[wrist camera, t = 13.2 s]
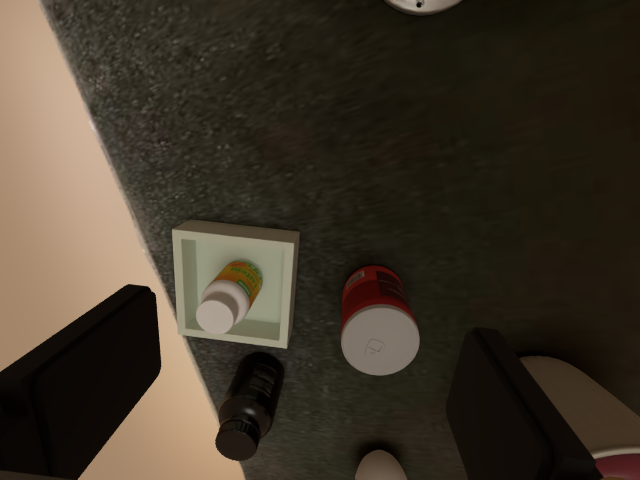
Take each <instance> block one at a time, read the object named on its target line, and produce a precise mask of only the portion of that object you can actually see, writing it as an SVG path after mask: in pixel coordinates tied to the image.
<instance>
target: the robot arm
mask: <svg viewBox="0 0 640 480" xmlns="http://www.w3.org/2000/svg"><path fill="white" fill-rule="evenodd" d="M384 1H385V2H386V3H387V4H388V5H390V6H391V7H393V8H394V9H396V10H398V11H401V12H404V13H406V14H411V15H418V16H423V15H433V14H436V13H440V12H443V11H446V10H448V9H449V8H451V7H453V6H455V5H457V4H458V3H460V2H461V1H462V0H384ZM417 3H419V4H420V5H421V7H420V8H418V7H417V6H416V4H417ZM160 369H161V355H160V342H159V329H158V317H157V304H156V295H155V293H154V292H151V290H150V288H149V287H148V286H140V285H132V284H128V285H126V286H124V287H123V288H121V289H120V290H118V291H117V292H115V293H114V294H113V295H111V296H110V297H108V298H107V299H105V300H104V301H102V302H101V303H99V304H98V305H97V306H96V307H94V308H92V309H91V310H89V311H88V312H86V313H85V314H84V315H82V316H81V317H79V318H78V319H76V320H75V321H73V322H72V323H70V324H69V325H68V326H66V327H65V328H63V329H62V330H60V331H59V332H57V333H56V334H55V335H53V336H52V337H50V338H49V339H47V340H46V341H44V342H43V343H42V344H40V345H39V346H37V347H36V348H34V349H33V350H31V351H30V352H28V353H27V354H26V355H24V356H23V357H21V358H20V359H19V360H17V361H15V362H14V363H13V364H11V365H10V366H8V367H7V368H5V369H4V370H2V371H1V372H0V480H78V478H79V477H80V476H81V474H82V473H83V472H84V471H85V469H86V468H87V467H88V465H89V464H90V463H91V462H92V460H93V459H94V458H95V456H96V455H97V454H98V453H99V451H100V450H101V449H102V447H103V446H104V445H105V444H106V442H107V441H108V440H109V438H110V437H111V436H112V435H113V433H114V432H115V431H116V429H117V428H118V427H119V425H120V424H121V423H122V422H123V420H124V419H125V418H126V417H127V415H128V414H129V413H130V411H131V410H132V409H133V408H134V406H135V405H136V404H137V403H138V401H139V400H140V399H141V397H142V396H143V395H144V393H145V392H146V391H147V390H148V388H149V387H150V386H151V385H152V383H153V382H154V380H155V379H156V378H157V377H158V375H159V373H160ZM446 414H447V418H448V421H449V424H450V427H451V430H452V433H453V436H454V438H455V441H456V444H457V447H458V450H459V453H460V456H461V459H462V462H463V464H464V467H465V470H466V473H467V476H468V479H469V480H627V479H624V478H621V477H612V476H608V477H605V478H604V477H603V475H602V474H601V473H600V471H599V470H598V469H597V467H596V466H595V464H596V460H595V459H594V458H593V456H592V455H591V454H590V452H589V451H588V450H587V448H586V447H585V446H584V444H583V443H582V442H581V440H580V439H579V438H578V436H577V435H576V434H575V432H574V431H573V430H572V428H571V427H570V426H569V424H568V423H567V422H566V420H565V419H564V418H563V416H562V415H561V414H560V412H559V411H558V410H557V408H556V407H555V406H554V404H553V403H552V402H551V400H550V399H549V398H548V396H547V395H546V394H545V392H544V391H543V390H542V388H541V387H540V386H539V385H538V383H537V382H536V381H535V379H534V378H533V377H532V375H531V374H530V373H529V371H528V370H527V369H526V367H525V366H524V365H523V363H522V362H521V361H520V359H519V358H518V357H517V355H516V354H515V353H514V351H513V350H512V349H511V347H510V346H509V345H508V343H507V342H506V341H505V339H504V338H503V337H502V335H501V334H500V333H499V332H498V331H497V330H495V329H487V328H479V327H475V328H473V330H472V332H471V331H468V332H467V333H466V335H465V338H464V341H463V345H462V349H461V352H460V356H459V360H458V363H457V367H456V370H455V374H454V378H453V381H452V385H451V389H450V392H449V396H448V399H447V404H446Z"/></svg>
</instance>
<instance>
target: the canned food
mask: <svg viewBox="0 0 640 480" xmlns="http://www.w3.org/2000/svg"><path fill="white" fill-rule="evenodd" d="M341 345H342V350H343V353H344V355H345V357H346V359H347V361H348V362H349V363H350V364H351V365H352V366H353V367H355V368H356V369H358V370H359V371H361V372H364V373H367V374H371V375H387V374H392V373H394V372H397V371H399V370H401V369H403V368H404V367H406V366H407V365H408V364H409V363H410V362H411V361H412V360H413V358H414V357H415V355H416V353H417V351H418V347H419V332H418V328H417V325H416V321H415V319H414V316H413V313H412V310H411V308H410V305H409V302H408V299H407V297H406V294H405V291H404V288H403V286H402V283H401V281H400V279H399V278H398V277H397V275H396V274H394V273H393V272H392V271H391V270H389V269H387V268H385V267H382V266H376V265H372V266H366V267H363V268H360V269H358V270H357V271H355V272H354V273H353V274H352V275H351V276H350V277H349V278H348V280H347V282H346V283H345V286H344V288H343V297H342V320H341Z"/></svg>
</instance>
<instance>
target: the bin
mask: <svg viewBox="0 0 640 480" xmlns="http://www.w3.org/2000/svg"><path fill="white" fill-rule="evenodd" d="M172 235H173V253H174V271H175V289H176V306H177V324H178V334H179V335H187V336H195V337H202V338H210V339H218V340H225V341H233V342H240V343H248V344H256V345H263V346H271V347H279V348H286V349H287V346H288V343H289V339H290V336H291V332H292V328H293V316H294V303H295V290H296V276H297V263H298V250H299V236H300V232H298V231H289V230H281V229H272V228H263V227H254V226H245V225H236V224H227V223H218V222H209V221H201V220H192V219H190V220H188V221H186V222H185V223H183V224H181V225H179V226H177V227H176V228H174V229H172ZM240 259H241V260H247V261H250V262H252V263H254V264H255V265H256V266H257V267H258V268H259V269H260V271H261V273H262V276H263V285H262V288H261V290H260V292H259V294H258V295H257V297H256V299H255V301H254V302H253V304H252V306H251V308H250V310H249V311H248V313H247V315H246V316H245V317H244V319H243V320H242V321H240V322H239V323H237V324H234V325H233V326H232V328H231V329H230V330H229V331H227V332H226V333H223V334H212V333H209V332H207V331H205V330H204V329H203V328H201V326H200V325H199V324H198V322H197V319H196V311H197V308H198V306H199V305H200V304H201V296H202V293H203V291H204V290H205V288H206V287H207V286H208V285H209V284H210V283H211V282H212V281H213V280H214V278H215V277H216V276H217V275H218V274H219V273H220V272H221V271H222V270H223V269H224V268H225V267H226V266H227V265H228V264H229V263H230V262H232V261H234V260H240Z"/></svg>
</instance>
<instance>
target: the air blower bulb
mask: <svg viewBox="0 0 640 480" xmlns="http://www.w3.org/2000/svg"><path fill="white" fill-rule="evenodd" d="M355 480H407V478H406V476H405V473H404V471H403V469H402V467H401V466H400V464H399V463H398V461H397V460H396V459H395V458H394V457H393V456H392V455H391V454H390V453H387V452H386V451H383V450H375V451H372V452H370V453H369V454H367V455H366V456H364V458H363V459H362V461H361V462H360V464H359V467H358V469H357V472H356V476H355Z"/></svg>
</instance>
